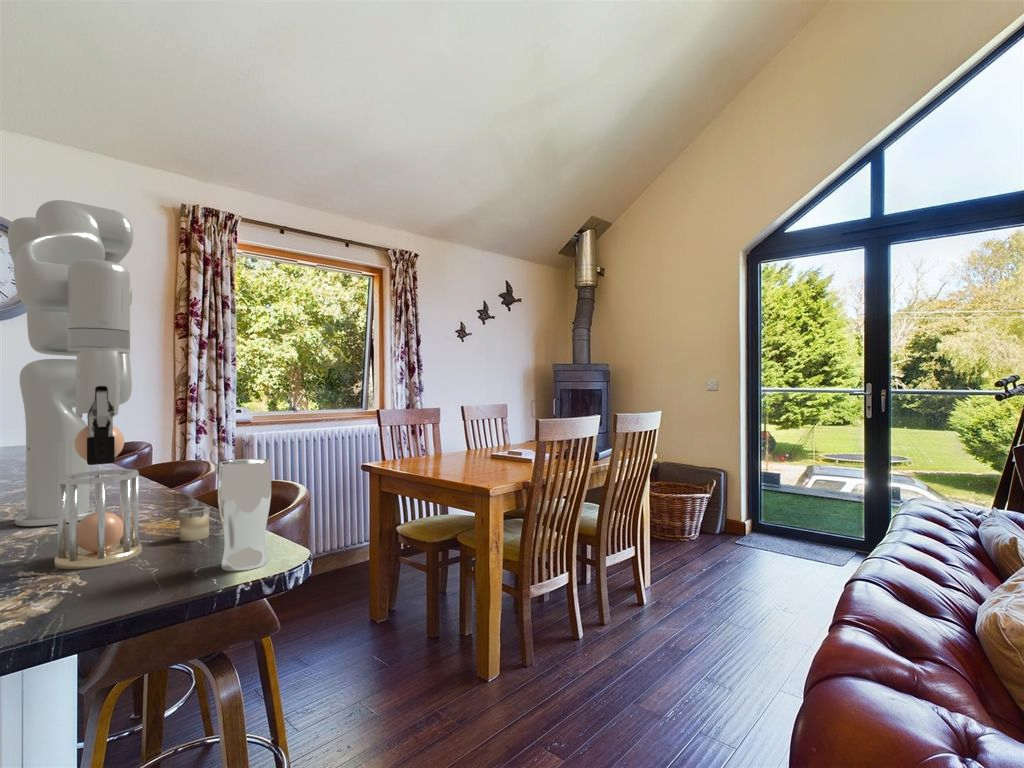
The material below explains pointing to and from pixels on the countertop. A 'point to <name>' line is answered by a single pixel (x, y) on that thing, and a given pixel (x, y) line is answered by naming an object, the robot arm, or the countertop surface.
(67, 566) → the cage tube
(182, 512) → the stand
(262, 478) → the beer glass
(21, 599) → the countertop surface
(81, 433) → the terracotta ball
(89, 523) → the ball
